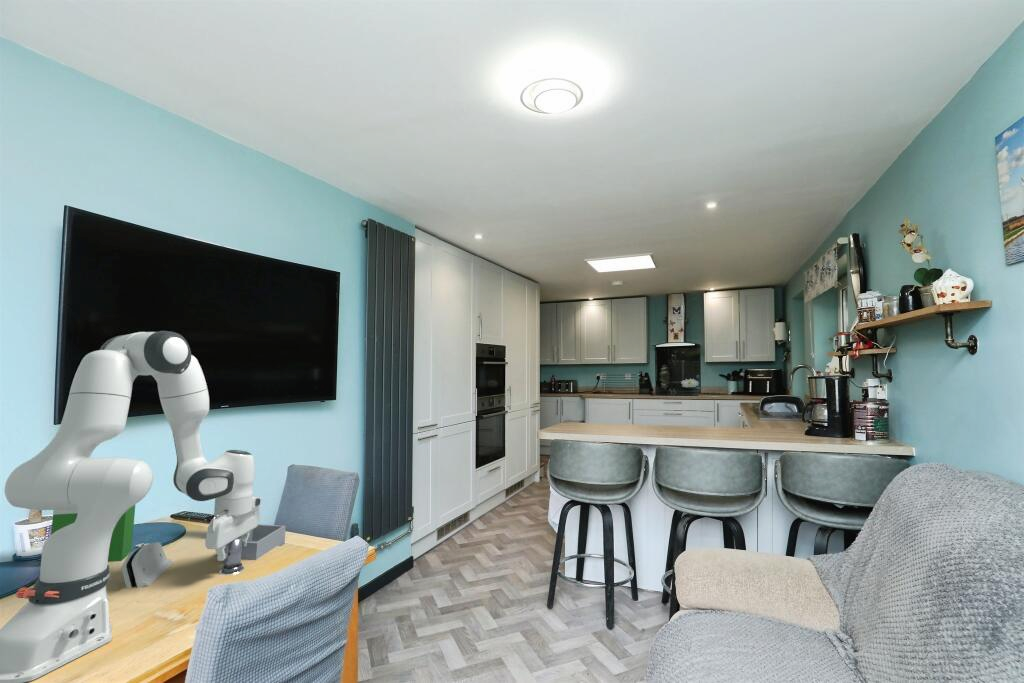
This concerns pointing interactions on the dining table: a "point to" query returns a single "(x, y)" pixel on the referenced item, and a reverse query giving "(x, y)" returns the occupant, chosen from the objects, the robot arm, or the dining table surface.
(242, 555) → the bin
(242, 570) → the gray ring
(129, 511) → the hardback book
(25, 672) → the robot arm
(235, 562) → the grey knob
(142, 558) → the white curved housing
